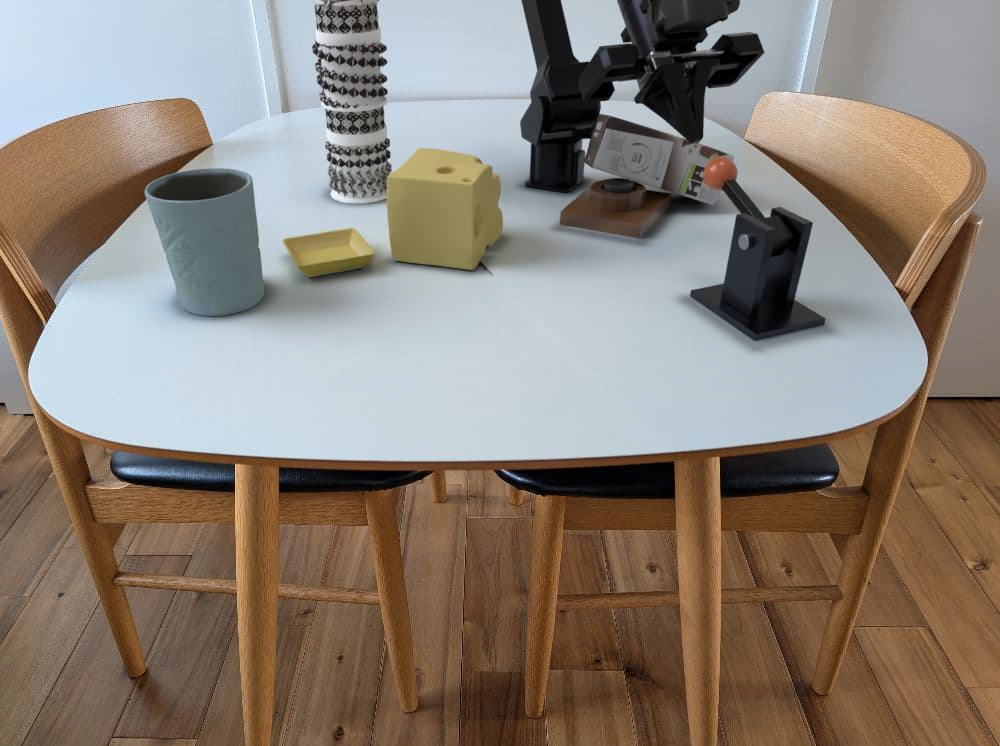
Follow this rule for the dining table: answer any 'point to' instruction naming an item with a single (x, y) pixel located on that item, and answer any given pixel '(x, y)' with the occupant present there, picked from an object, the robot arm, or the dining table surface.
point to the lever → (743, 199)
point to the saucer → (329, 252)
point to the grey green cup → (209, 238)
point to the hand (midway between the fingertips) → (697, 141)
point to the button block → (616, 210)
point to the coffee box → (651, 157)
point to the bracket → (762, 280)
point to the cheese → (443, 209)
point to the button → (618, 185)
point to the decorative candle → (353, 98)
